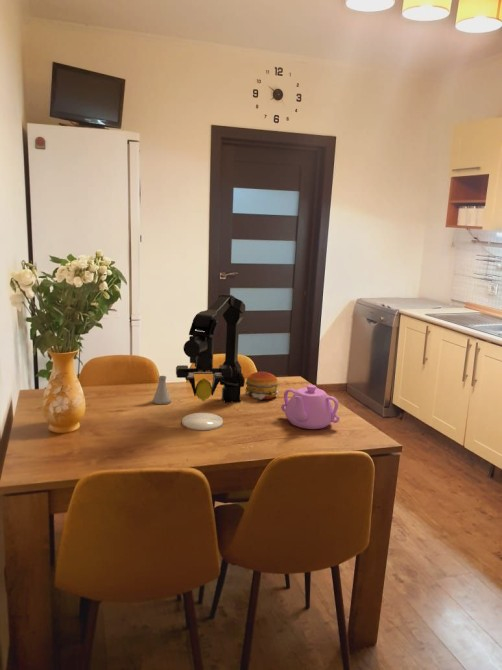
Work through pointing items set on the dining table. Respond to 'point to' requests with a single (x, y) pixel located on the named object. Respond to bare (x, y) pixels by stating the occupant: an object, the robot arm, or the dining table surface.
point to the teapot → (310, 408)
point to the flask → (161, 392)
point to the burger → (262, 385)
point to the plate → (202, 421)
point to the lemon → (203, 389)
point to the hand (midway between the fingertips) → (203, 395)
